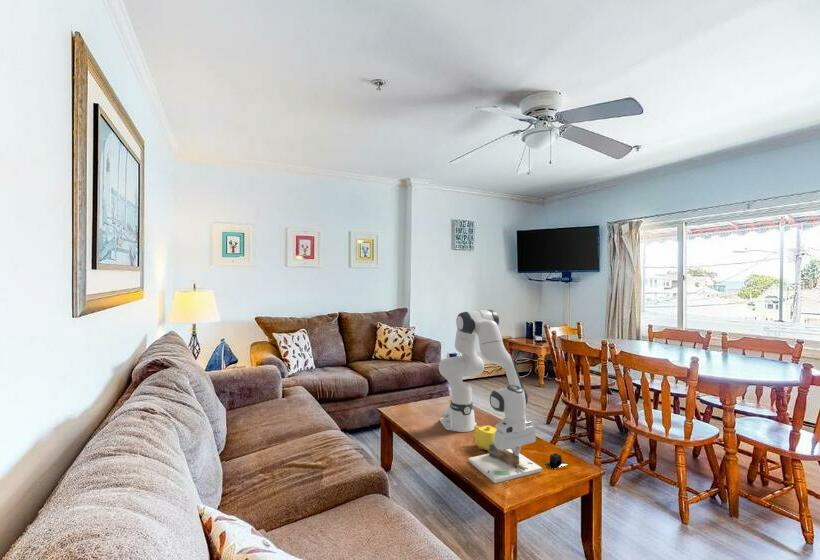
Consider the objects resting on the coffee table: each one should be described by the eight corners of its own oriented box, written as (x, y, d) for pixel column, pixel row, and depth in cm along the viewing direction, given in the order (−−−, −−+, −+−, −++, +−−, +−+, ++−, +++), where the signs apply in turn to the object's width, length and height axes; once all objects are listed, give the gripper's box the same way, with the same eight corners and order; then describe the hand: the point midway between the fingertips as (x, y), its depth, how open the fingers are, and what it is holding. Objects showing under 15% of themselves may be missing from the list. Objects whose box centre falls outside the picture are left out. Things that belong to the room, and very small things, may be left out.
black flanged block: (558, 458, 177) (558, 448, 176) (572, 465, 170) (572, 455, 170) (539, 465, 171) (539, 455, 170) (552, 472, 164) (552, 462, 164)
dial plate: (468, 461, 173) (468, 457, 173) (512, 451, 183) (512, 448, 183) (494, 483, 155) (494, 479, 155) (542, 471, 164) (542, 467, 164)
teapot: (512, 450, 183) (512, 428, 183) (499, 458, 176) (499, 435, 176) (480, 439, 196) (480, 418, 196) (467, 446, 188) (467, 424, 188)
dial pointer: (486, 454, 176) (486, 444, 176) (494, 451, 179) (494, 441, 179) (520, 472, 160) (520, 461, 160) (528, 468, 162) (528, 458, 162)
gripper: (529, 418, 175) (529, 448, 175) (492, 425, 167) (492, 457, 167) (539, 422, 169) (539, 454, 169) (501, 430, 161) (501, 463, 161)
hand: (515, 455), depth 168 cm, fingers closed
